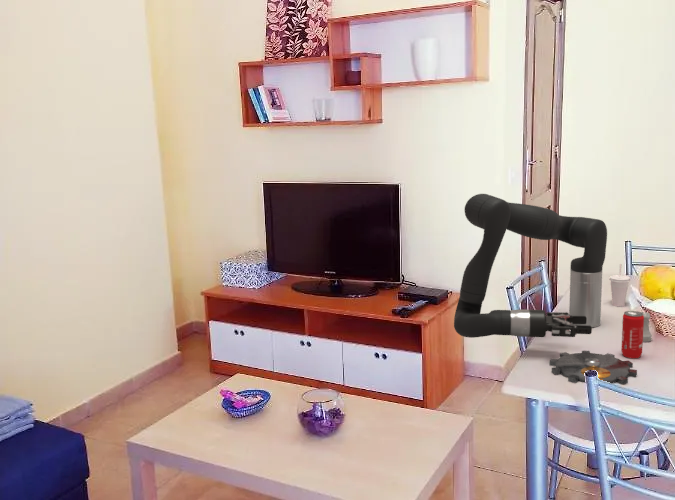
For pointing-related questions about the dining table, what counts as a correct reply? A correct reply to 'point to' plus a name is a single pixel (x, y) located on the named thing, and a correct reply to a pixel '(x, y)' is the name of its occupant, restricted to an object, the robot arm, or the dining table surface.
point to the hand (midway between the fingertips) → (588, 324)
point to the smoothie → (619, 288)
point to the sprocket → (592, 367)
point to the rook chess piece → (646, 328)
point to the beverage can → (632, 334)
